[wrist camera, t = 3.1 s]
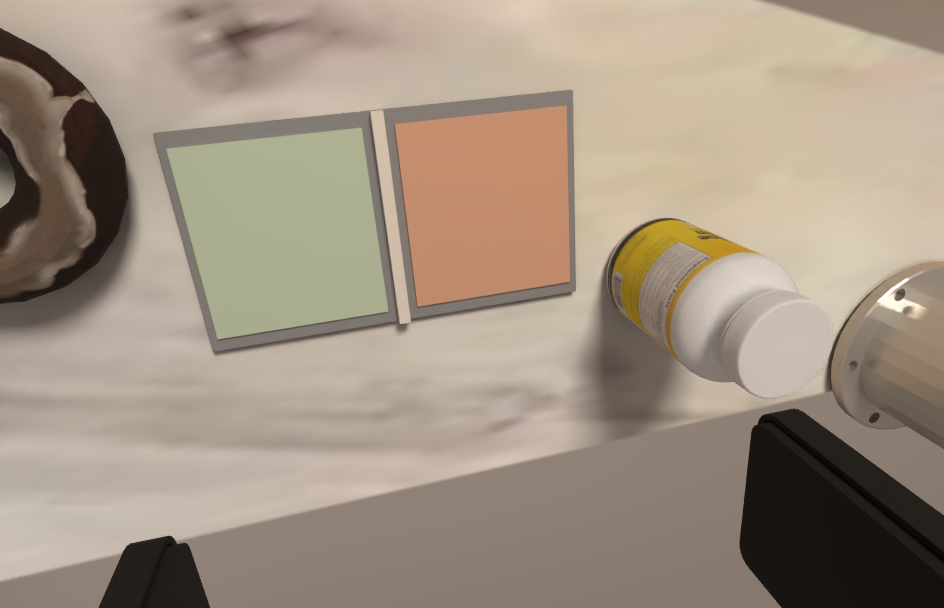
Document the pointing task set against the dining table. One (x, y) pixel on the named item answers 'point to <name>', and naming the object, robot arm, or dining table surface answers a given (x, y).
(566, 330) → the dining table surface
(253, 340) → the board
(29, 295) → the donut
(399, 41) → the dining table surface
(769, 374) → the pill bottle
